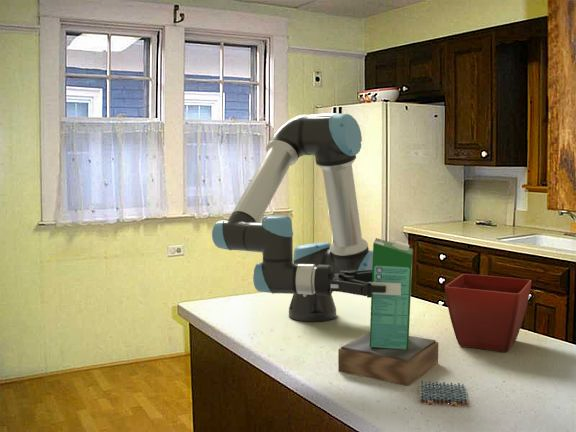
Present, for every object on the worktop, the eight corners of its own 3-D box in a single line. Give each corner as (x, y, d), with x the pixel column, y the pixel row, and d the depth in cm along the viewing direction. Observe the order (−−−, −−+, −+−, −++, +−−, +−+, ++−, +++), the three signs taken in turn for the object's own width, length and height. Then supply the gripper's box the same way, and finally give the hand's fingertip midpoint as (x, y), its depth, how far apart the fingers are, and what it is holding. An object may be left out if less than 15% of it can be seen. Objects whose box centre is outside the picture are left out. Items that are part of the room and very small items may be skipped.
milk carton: (408, 350, 157) (412, 244, 154) (369, 347, 159) (373, 242, 156) (408, 339, 166) (413, 239, 163) (372, 336, 168) (375, 237, 165)
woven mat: (418, 407, 140) (418, 397, 140) (418, 388, 150) (418, 380, 150) (470, 410, 138) (470, 400, 138) (466, 391, 148) (466, 382, 148)
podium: (338, 371, 161) (338, 346, 160) (372, 351, 176) (372, 329, 175) (408, 385, 151) (408, 359, 150) (438, 363, 166) (438, 340, 165)
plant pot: (517, 358, 169) (519, 293, 167) (442, 348, 178) (443, 286, 176) (530, 339, 185) (532, 279, 184) (461, 330, 195) (462, 273, 193)
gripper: (325, 284, 178) (406, 287, 173) (305, 306, 154) (398, 311, 148) (325, 256, 177) (407, 258, 172) (304, 274, 153) (398, 277, 148)
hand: (403, 283), depth 160 cm, fingers open, 13 cm apart
